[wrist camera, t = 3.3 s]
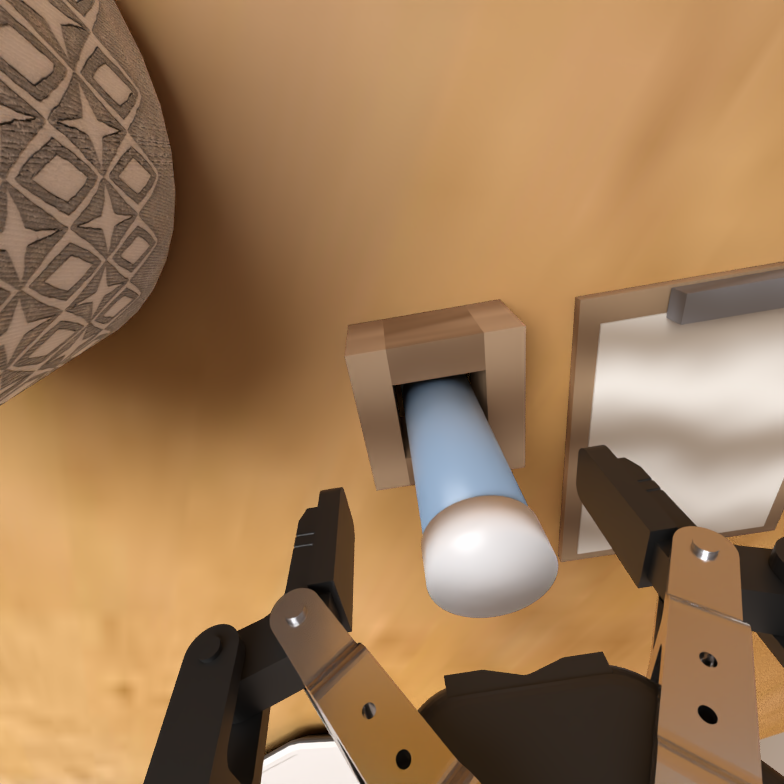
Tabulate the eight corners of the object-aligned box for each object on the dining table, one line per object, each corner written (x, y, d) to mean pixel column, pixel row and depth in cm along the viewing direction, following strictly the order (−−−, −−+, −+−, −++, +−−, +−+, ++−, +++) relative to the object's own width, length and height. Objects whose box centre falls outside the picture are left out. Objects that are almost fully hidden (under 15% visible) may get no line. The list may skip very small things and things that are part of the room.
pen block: (348, 325, 18) (344, 356, 15) (499, 299, 18) (525, 325, 15) (375, 445, 22) (376, 490, 19) (502, 425, 22) (525, 467, 19)
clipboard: (575, 297, 18) (592, 307, 17) (888, 243, 18) (931, 250, 17) (558, 555, 27) (568, 576, 26) (767, 524, 27) (789, 543, 25)
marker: (393, 353, 19) (418, 543, 10) (462, 342, 19) (561, 521, 9) (403, 412, 21) (433, 625, 11) (467, 402, 21) (555, 608, 11)
